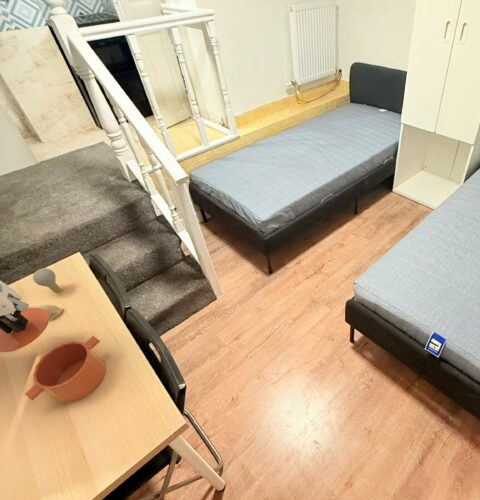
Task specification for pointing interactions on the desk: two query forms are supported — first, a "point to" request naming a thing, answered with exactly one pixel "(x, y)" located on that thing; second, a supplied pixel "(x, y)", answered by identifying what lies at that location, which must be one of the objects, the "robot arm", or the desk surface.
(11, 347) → the pot lid
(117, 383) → the desk surface
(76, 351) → the pot
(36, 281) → the light bulb
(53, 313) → the decorative ornament
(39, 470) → the desk surface
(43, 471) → the desk surface
